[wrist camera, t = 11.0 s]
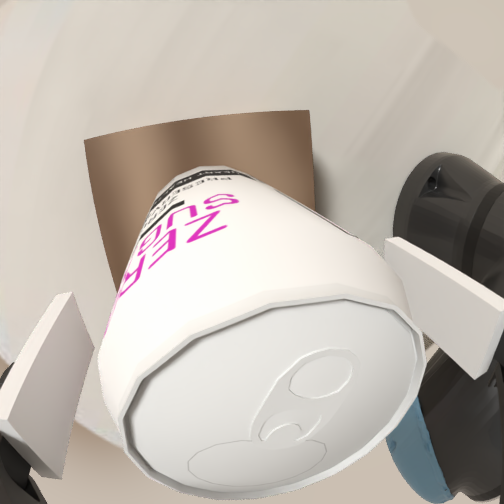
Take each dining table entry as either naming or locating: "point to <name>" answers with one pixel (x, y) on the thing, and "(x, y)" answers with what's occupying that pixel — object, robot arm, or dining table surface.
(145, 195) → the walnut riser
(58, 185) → the dining table surface
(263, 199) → the supplement can
